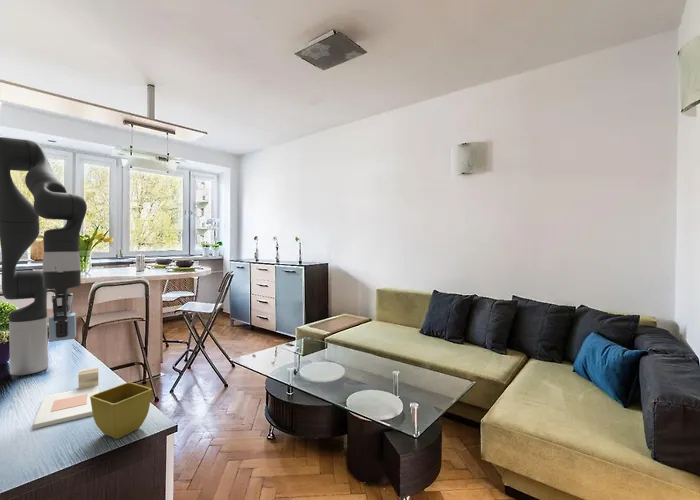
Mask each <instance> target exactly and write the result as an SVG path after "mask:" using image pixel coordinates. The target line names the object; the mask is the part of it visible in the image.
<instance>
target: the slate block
mask: <svg viewBox="0 0 700 500" xmlns="http://www.w3.org/2000/svg"><path fill="white" fill-rule="evenodd" d="M58 316H64V314H58ZM53 318H54V314H51V315H50V316H49V317H48V338H49V339H48V341H49V343H53V342H54V343H55V342H60V341H69V340H75V339H76V337H77V312H72V313H68V322H67V325H68V335H67V336H66V337H60V338H57V337H56V323H55V322H54V320H53Z"/></svg>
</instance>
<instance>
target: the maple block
mask: <svg viewBox="0 0 700 500" xmlns="http://www.w3.org/2000/svg"><path fill="white" fill-rule="evenodd" d="M94 386H99V366H96V367H90V368H84V369H79V370H78V389H83V388H88V387H94Z"/></svg>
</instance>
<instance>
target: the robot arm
mask: <svg viewBox="0 0 700 500" xmlns="http://www.w3.org/2000/svg"><path fill="white" fill-rule="evenodd" d="M11 171H18V172H19V171H20V172H26V174H25V179H24V182H25V186H26V188H27V189H28V191H29V192H30V193H31V195H32V196H33V204H32V203H31V202H30V201H29V199H28V198H26V196H25V195H24V194H23V193H22V192H21V191H20V189H19V187H17V186H16V184H15V182H14V180H13V178H12V175H11ZM87 209H88V207H87V202H86V200H85V198H83V196H81V195H80V194H75V193H68V192H67V190H66V187H65V186H64V184H63V183H62V182H61V181H60V180H59V179H58V177H57V176H56V175H55V173H54V171H53V169H52V167H51V164H50V162H49V160H48V158H47V155H46V153H45V151H44V149H43V148H42V146H41V144H40V143H38V142H36V141H34V140H29V139H20V138H14V137H2V136H0V250H1V292H2V295H3V297H4V299H6V300H11V301H12V300H13V301H14V300H25V299H26V300H27V299H34V300H33V302H31V303H30V304H28V305H26V306H24V307H20V308H18V309H15V310H12V311H10V312H9V314H8V330H9V331H8V333H9V335H8V337H9V375H10V376H25V375H30V374H35V373H39V372H42V371H45V370H47V369H48V368H49V356H48V355H49V353H48V352H49V349H48V347H49V346H48V341H49V339H48V308H47V306H48V305H47V304H48V302H47V301H48V290H53V289H54V290H55V291H54V292H55V293H54V295H52V296H51V302H52V313H53V314H52V315H54V318H53V320H54V322H55V323H56V337H57V338H60V337H66V336H67V335H68V325H67V322H68V313H73V311H72V310H73V300H74V295H73V293H71V292H70V289H71V288H73V289H74V288H78V287H80V286H81V284H82V280H81V278H82V277H81V276H82V275H81V273H82V272H81V256H80V234H81V233H80V232H81V229H82V226H83V222H84V219H85V217H86V213H87V211H88V210H87ZM40 218H42V219H46V220H61V221H66V222H65V224H64V225H63V226H62V227H58V228H51V229H47V230H45V231H44V232H43V257H42V270H41V269H39V270H38V269H37V270H36V269H35V270H16V267H17V265H18V263H19V261H20V259H21V258H22V256H23V255H24V254H25V252H27V250H28V249H29V248H30V247H31V246H32V245H33V243H35V241H36V240H37V238H38V237H39V235H40ZM58 314H64V316H58Z"/></svg>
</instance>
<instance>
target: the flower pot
mask: <svg viewBox="0 0 700 500" xmlns="http://www.w3.org/2000/svg"><path fill="white" fill-rule="evenodd" d="M152 391H153V388H151V387H148V386H144V385H141V384H137V383H134V382H130V381H129V382H125V383H122V384H120V385H117V386H114V387H111V388H108V389H105V390H102V391H101V392H100V391H99V393H97V394H94V395H92V396H90V399H91V406H92V412H93V415H92V416H93V421H94V422H95V425H96V426H97V428H98V429H99V430H100V431H101V433H103V434H104V435H106V436H108V437H111V438H112V439H116V440H117V439H120V438H123V437H125V436H126V435H129V434H131V433H133V432H134V431H137V430H138V429H140V428H141V426H142V425H143V423H144V422H145V420H146V419H147V416H148V413H149V411H150V405H151V400H152V399H151V398H152Z"/></svg>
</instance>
